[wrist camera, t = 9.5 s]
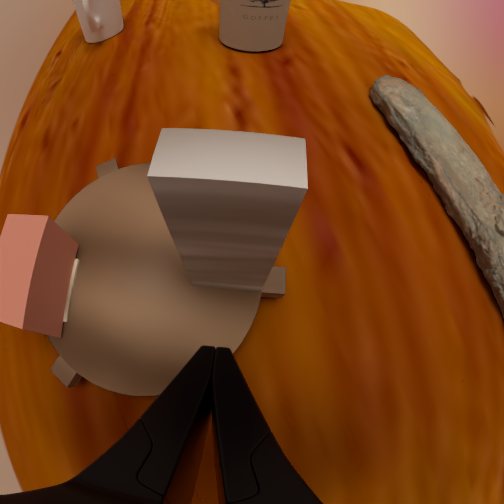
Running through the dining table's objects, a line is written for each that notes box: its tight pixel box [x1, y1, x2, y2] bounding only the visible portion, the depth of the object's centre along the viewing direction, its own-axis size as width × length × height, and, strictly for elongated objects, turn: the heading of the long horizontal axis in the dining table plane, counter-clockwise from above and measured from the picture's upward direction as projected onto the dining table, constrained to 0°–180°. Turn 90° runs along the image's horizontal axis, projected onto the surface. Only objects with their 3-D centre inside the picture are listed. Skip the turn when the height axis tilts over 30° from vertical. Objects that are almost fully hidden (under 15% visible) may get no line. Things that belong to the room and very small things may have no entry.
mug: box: [73, 0, 124, 43], centre depth 24 cm, size 10×7×12 cm, turn 12°
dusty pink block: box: [0, 214, 79, 338], centre depth 13 cm, size 4×6×4 cm, turn 176°
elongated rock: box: [370, 75, 504, 319], centre depth 22 cm, size 35×5×10 cm
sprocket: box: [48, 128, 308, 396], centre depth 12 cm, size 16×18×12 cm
